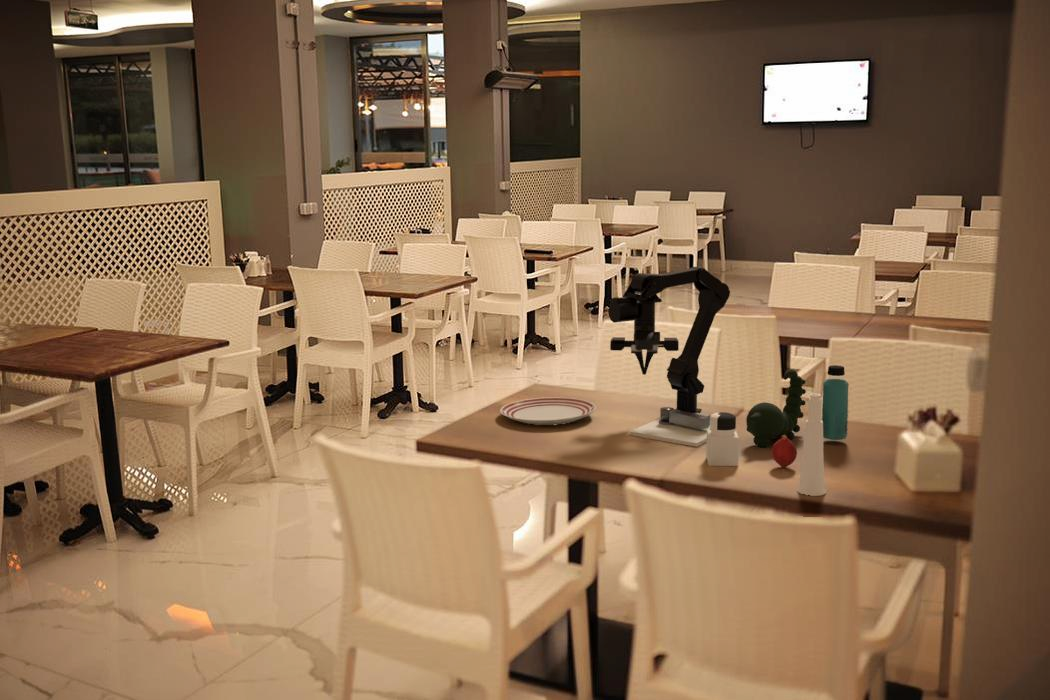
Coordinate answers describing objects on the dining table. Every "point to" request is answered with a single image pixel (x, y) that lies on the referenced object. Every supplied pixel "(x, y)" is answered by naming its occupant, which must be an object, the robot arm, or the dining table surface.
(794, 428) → the toy figurine
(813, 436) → the cosmetic bottle
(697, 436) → the door board
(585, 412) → the dinner plate
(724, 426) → the medicine bottle
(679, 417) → the bar
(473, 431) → the dining table surface
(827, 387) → the beverage bottle
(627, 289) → the robot arm
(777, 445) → the onion
